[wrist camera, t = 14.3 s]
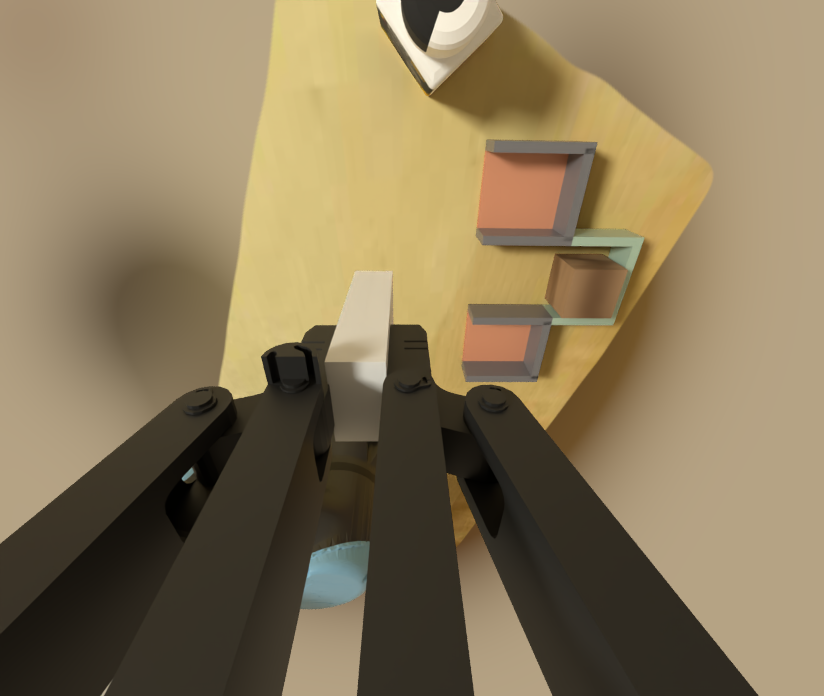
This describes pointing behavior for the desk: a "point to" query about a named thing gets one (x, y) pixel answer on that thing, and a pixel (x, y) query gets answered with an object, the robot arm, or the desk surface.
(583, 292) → the walnut block
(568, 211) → the box
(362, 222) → the desk surface
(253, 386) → the desk surface
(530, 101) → the desk surface
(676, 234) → the desk surface
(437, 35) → the medicine bottle
